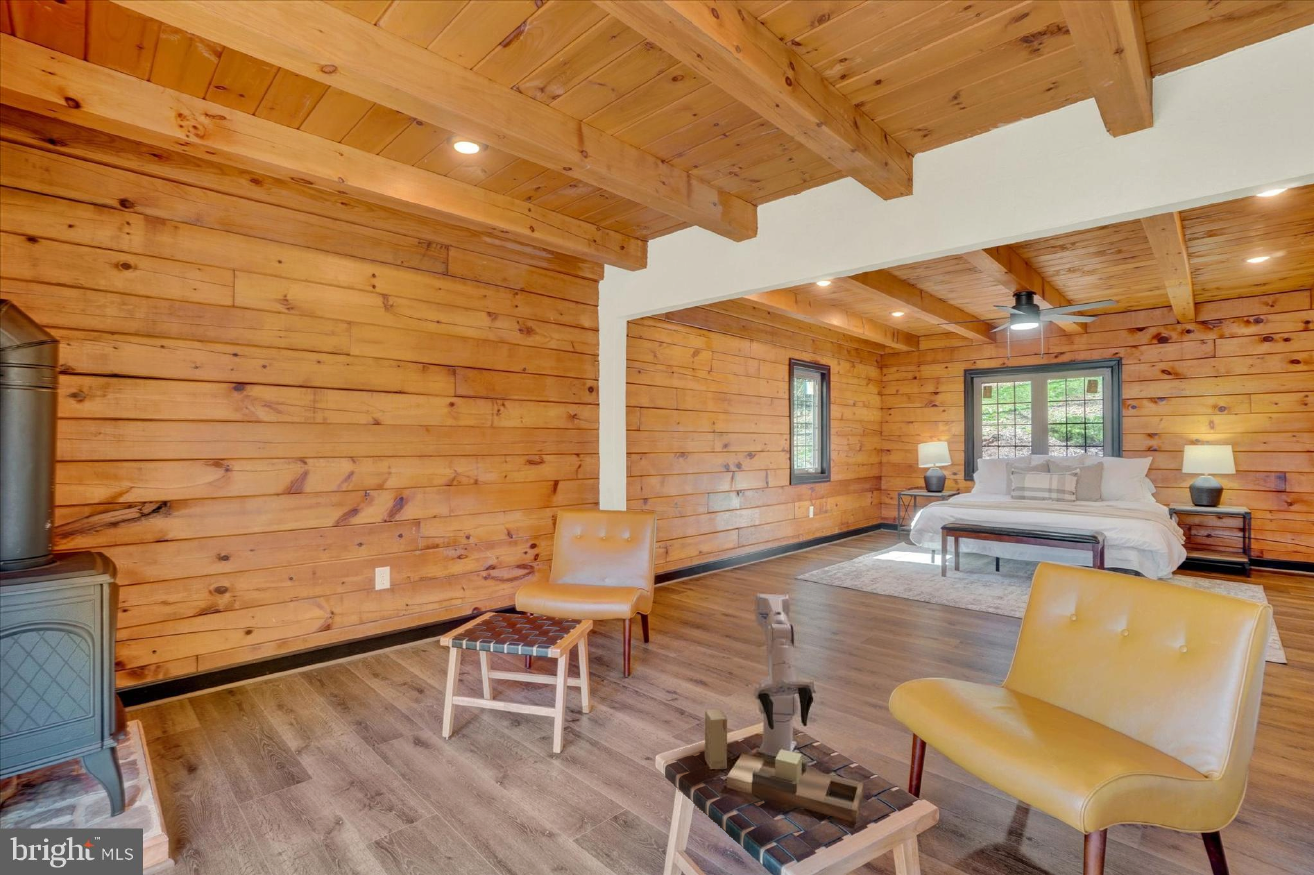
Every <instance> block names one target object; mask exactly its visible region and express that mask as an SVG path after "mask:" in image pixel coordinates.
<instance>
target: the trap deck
mask: <svg viewBox="0 0 1314 875" xmlns="http://www.w3.org/2000/svg"><path fill="white" fill-rule="evenodd" d="M763 757H764V758H762V757H760V756H759V757H758V756H755V755H754V756H753V755H750V754H747V753H741V754H740V756H739V758H738V759H737V760H736V762H735V764H734V765H733V767H732V768H731V769H730V771H729V772H728V774H727V775H726V788H727V789H731V790H734V791H740V792H741V793H746V794H750V795H754V796H756V797H757V796H758V797H760V798H761V797H762V798H765V799H769V800H772V801H775V802H779V803H783V804H787V805H790V806H794V807H797V808H801V809H805V810H809V811H812V812H816V813H818V814H819V813H820V814H824V815H828V816H831V817H835V818H839V819H842V820H846V821H849V822H852V823H853V822H854V823H857V822H858V821H857V820H858V818H859V814H860V810H861V805H862V802H861V801H863V797H864V784H865V783H864V782H860V781H857V780H853V779H849V778H844V777H841V776H836V775H832V774H828V773H824V772H820V771H815V770H812V769H807V761H804V760H802V769H801V778H800V780H799V782H798V784H797V782H794V781H790V780H786V779H782V778H778V777H775V759H776V757H777V755H776V754H772V753H768V752H765V753H763Z"/></svg>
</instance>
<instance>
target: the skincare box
mask: <svg viewBox="0 0 1314 875" xmlns="http://www.w3.org/2000/svg"><path fill="white" fill-rule="evenodd" d="M704 715H705V716H704V759H705V762H706V764H707V766H708V768H709V767H710V768H709V769H710V770H711V769H715V770H724V769H725V770H726V769H728V717H727V716H726V714H725V713H724V712H723V710H722V709H706V710H705V711H704Z"/></svg>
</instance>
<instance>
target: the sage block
mask: <svg viewBox="0 0 1314 875" xmlns="http://www.w3.org/2000/svg"><path fill="white" fill-rule="evenodd" d="M802 755H803V754H802V753H798V752H794V751H792V752H790V751H786V750H782V749H781V750H780V751H779V753H778V755H777V757H776V759H775V777H778V778H782V779H786V780H790V781H794V782H797V784H798V782H799V780H800V778H801V769H802V761H803V759H802V757H803V756H802Z"/></svg>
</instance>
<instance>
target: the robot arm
mask: <svg viewBox="0 0 1314 875" xmlns="http://www.w3.org/2000/svg"><path fill="white" fill-rule="evenodd" d="M790 603H791V602H790V597H789V596H788V594H773V593H772V594H771V593H759V592H757V593H756V594H755V596H754V612H755V622H756V625H757V626H758V627H759V628H761V629H762V631H763V635H764V639H765V654H766V658H765V659H766V670H767V671H766V672H767V677H765V678H764V679H762V680H761V681H760V682H759V684H758V687H757V688H756V687H754V688H753V692H754V694H753V695H754V698H755V699H756V700H757V702H758V703H757V704H758V705H757V706H758V712H759V713H760V715H763V722H762V724H763V725H762V726H763V727H762V728H763V730H762V731H763V732H762V743H761V745H760V747H759V748H758V750H757V753H760V754H764V753H765V752H768V753H772V754H776V755H778V753H779V751H780V750H781V749H782V750H786V751H790V752H794V750H795V748H796V746H797V741H795V740H794V739H793V738H794V735H793V734H794V719H793V717H795V716H796V715H797V714H798V707H799V706H800V718H801V719H800V722H801V724H802V725H803V727H807V726H808V717H809V712H810V709H811V707H812V704H813V702H814V697H813V694H817V693H818V692H817V684H816V683H815V681H801V680H797V675H796V662H795V652H794V647H795V639H796V638H795V634H796V633H795V628H794V625H793V624H792V623H790V621H789V620H790V619H789V617H790V610H791V608H790V606H791V605H790ZM798 698H799V702H798ZM798 703H799V706H798Z"/></svg>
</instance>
